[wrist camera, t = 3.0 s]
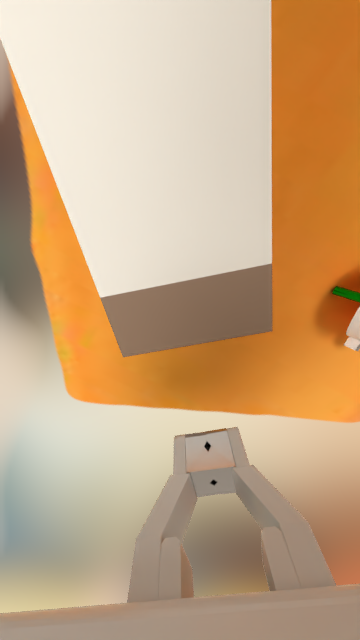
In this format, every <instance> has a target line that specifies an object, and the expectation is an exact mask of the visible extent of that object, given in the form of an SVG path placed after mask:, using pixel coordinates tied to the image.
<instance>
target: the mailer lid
mask: <svg viewBox="0 0 360 640" xmlns="http://www.w3.org/2000/svg"><path fill="white" fill-rule="evenodd" d="M0 38H1V41H2V44H3V46H4V49H5V52H6V54H7V57H8V59H9V62H10V65H11V67H12V70H13V72H14V75H15V78H16V80H17V83H18V85H19V88H20V91H21V93H22V96H23V98H24V101H25V104H26V106H27V109H28V111H29V114H30V117H31V119H32V122H33V124H34V127H35V130H36V132H37V135H38V137H39V140H40V142H41V145H42V148H43V150H44V153H45V155H46V158H47V161H48V163H49V166H50V168H51V171H52V174H53V176H54V179H55V181H56V184H57V187H58V189H59V192H60V194H61V197H62V200H63V202H64V205H65V207H66V210H67V213H68V215H69V218H70V220H71V223H72V226H73V228H74V231H75V233H76V236H77V239H78V241H79V244H80V246H81V249H82V252H83V254H84V257H85V259H86V262H87V265H88V267H89V270H90V272H91V275H92V278H93V280H94V283H95V285H96V288H97V290H98V293H99V296H100V298H101V301H102V303H103V306H104V309H105V311H106V314H107V316H108V319H109V322H110V324H111V327H112V329H113V332H114V335H115V337H116V340H117V342H118V345H119V348H120V350H121V353H122V355H123V357H127V356H132V355H138V354H144V353H150V352H155V351H161V350H167V349H173V348H178V347H184V346H190V345H196V344H201V343H207V342H213V341H218V340H224V339H230V338H236V337H241V336H247V335H253V334H259V333H264V332H270V331H272V99H271V0H0Z"/></svg>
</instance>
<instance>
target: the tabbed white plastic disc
mask: <svg viewBox="0 0 360 640" xmlns="http://www.w3.org/2000/svg"><path fill="white" fill-rule="evenodd" d="M332 294H334V295H337V296H341V297H344V298H347V299H350V300H353V301H356V302H360V293H359V292H355V291H352V290H348V289H345V288H341V287H338V286H336V287H335V289H334V291H333V293H332ZM346 335H347V336H349V337H348V339H347V341H346V342H345V344H344V345H345V346H347V347H349V348H351V349H353V350H356V351H359V350H360V307H359V308H358V310H357V312H356V313H355V315H354V317H353V319H352V321H351V323H350V325H349V327H348V329H347V332H346Z"/></svg>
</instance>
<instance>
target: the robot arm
mask: <svg viewBox="0 0 360 640" xmlns="http://www.w3.org/2000/svg"><path fill="white" fill-rule="evenodd" d="M226 493H236V494H237V495H238V497H239V498H240V500H241V501H242V503H243V504H244V505H245V507H246V508H247V510H248V511H249V512H250V514H251V515H252V516H253V518H254V519H255V521H256V522H257V523H258V525H259V526H260V528H261V529H262V532H261V542H262V559H263V565H264V570H265V574H266V577H267V582H268V586H269V590H270V591H266V592H254V593H242V594H230V595H217V596H205V597H194V591H193V571H192V567H191V565H190V562H189V560H188V558H187V556H186V553H185V551H184V549H183V547H182V543H183V539H184V537H185V534H186V531H187V528H188V525H189V522H190V519H191V516H192V513H193V510H194V507H195V504H196V502H197V497H202V496H208V495H215V494H226ZM0 640H360V584H351V585H339V586H336V583H335V581H334V579H333V577H332V575H331V572H330V570H329V568H328V566H327V564H326V561H325V559H324V557H323V555H322V552H321V550H320V548H319V546H318V543H317V541H316V539H315V537H314V534H313V532H312V530H311V528H310V526H309V523H308V522H307V520H305V518H303V516H302V515H301V514H300V513H299V512H298V511H297V510H296V509H295V508H294V507H293V506H292V505H291V504H290V503H289V502H288V501H287V500H286V499H285V498H284V497H283V496H282V495H281V493H280V492H279V491H278V490H277V489H276V488H275V487H274V486H273V485H272V484H271V483H270V482H269V481H268V480H267V479H266V478H265V477H264V476H263V475H262V474H261V473H260V472H259V471H258V470H257V468H256V467H255V466H254V465H249V462H248V458H247V455H246V452H245V449H244V445H243V443H242V439H241V436H240V433H239V429H238V428H237V427H234V428H228V429H226V428H225V429H219V430H212V431H207V432H201V433H193V434H186V435H178V436H175V438H174V471H173V475H171V476H170V477H169V479H168V481H167V483H166V484H165V486H164V488H163V490H162V492H161V494H160V496H159V497H158V499H157V501H156V503H155V505H154V507H153V509H152V511H151V513H150V514H149V516H148V518H147V520H146V522H145V524H144V525H143V527H142V529H141V531H140V533H139V535H138V537H137V539H136V543H135V551H134V558H133V565H132V572H131V579H130V586H129V593H128V600H127V603H120V604H109V605H97V606H84V607H72V608H61V609H48V610H35V611H23V612H11V613H0Z"/></svg>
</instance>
